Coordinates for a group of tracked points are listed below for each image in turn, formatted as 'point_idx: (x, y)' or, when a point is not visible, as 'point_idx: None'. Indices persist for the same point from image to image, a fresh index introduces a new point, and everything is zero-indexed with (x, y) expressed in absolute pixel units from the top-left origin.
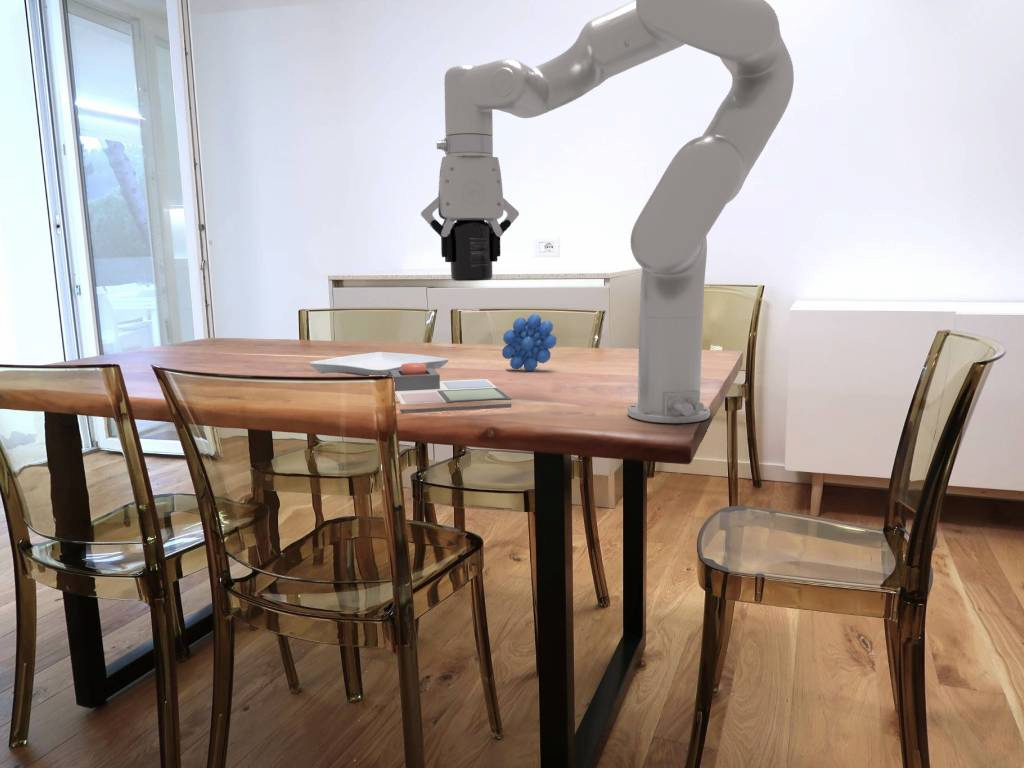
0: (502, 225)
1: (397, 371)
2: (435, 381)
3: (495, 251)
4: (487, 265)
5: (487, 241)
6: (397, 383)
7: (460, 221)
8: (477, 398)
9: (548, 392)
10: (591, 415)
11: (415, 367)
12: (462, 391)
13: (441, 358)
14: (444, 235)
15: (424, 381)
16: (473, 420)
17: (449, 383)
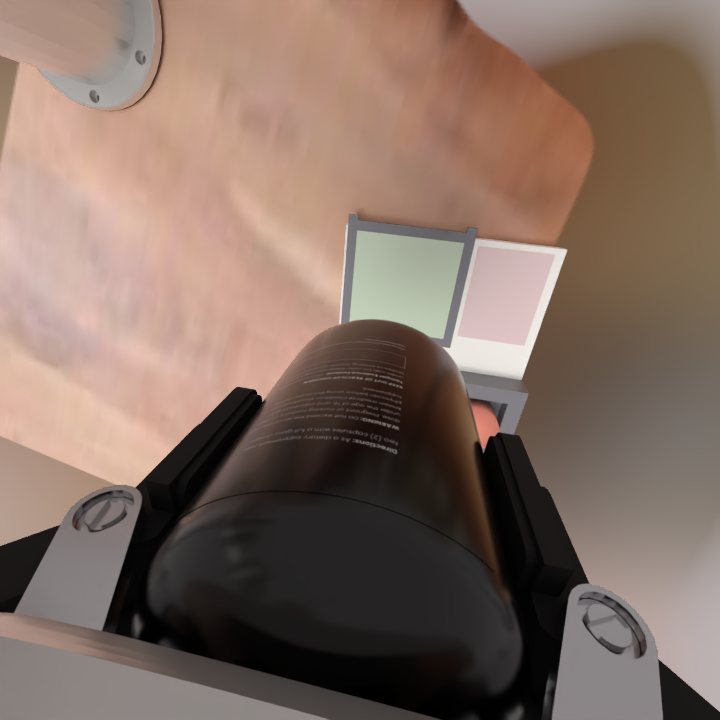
0: (14, 585)
1: None
2: None
3: (222, 415)
4: (307, 353)
5: (246, 436)
6: (517, 386)
7: None
8: (408, 244)
9: (252, 327)
10: (229, 83)
11: (479, 410)
12: (410, 322)
13: None
14: (597, 608)
15: (466, 378)
16: (459, 123)
17: None
